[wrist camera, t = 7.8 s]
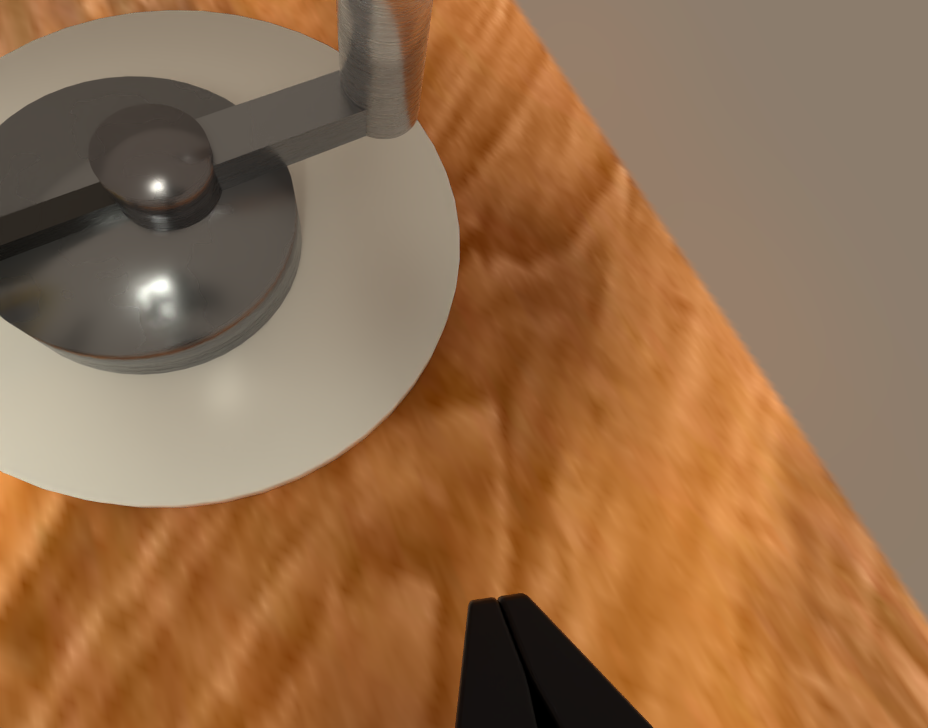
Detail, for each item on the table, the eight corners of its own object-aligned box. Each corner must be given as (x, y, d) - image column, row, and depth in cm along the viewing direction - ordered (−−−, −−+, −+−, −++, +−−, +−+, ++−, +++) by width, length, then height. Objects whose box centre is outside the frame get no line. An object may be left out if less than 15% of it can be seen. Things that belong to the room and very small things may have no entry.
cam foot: (416, 123, 22) (475, -338, 10) (385, 401, 18) (421, 170, 7) (36, 59, 20) (-389, -579, 9) (-73, 353, 17) (-981, -54, 5)
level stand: (551, 285, 22) (592, 228, 18) (111, 646, 17) (32, 677, 13) (257, -30, 24) (237, -142, 20) (-223, 194, 19) (-380, 100, 15)
